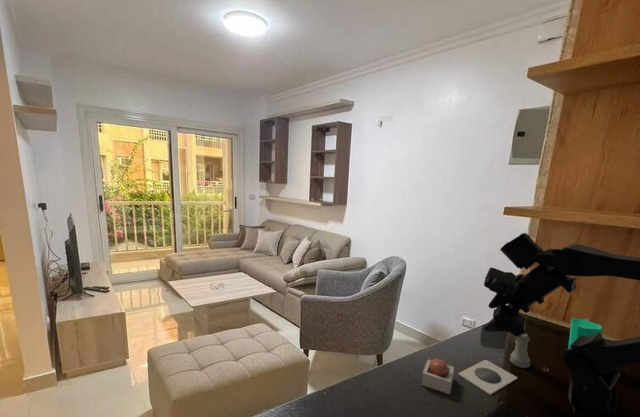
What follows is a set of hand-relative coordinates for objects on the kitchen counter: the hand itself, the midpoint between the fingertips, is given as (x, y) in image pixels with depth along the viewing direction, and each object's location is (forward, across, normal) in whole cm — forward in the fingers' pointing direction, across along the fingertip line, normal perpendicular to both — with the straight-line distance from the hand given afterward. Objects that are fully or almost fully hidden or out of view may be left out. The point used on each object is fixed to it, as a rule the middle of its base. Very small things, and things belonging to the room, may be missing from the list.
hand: (487, 317), depth 80 cm
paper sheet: (+6, +10, +6) cm, 14 cm away
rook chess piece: (+5, 0, +13) cm, 14 cm away
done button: (+8, +18, -4) cm, 20 cm away
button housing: (+10, +19, -3) cm, 21 cm away
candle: (-1, -9, +26) cm, 27 cm away
